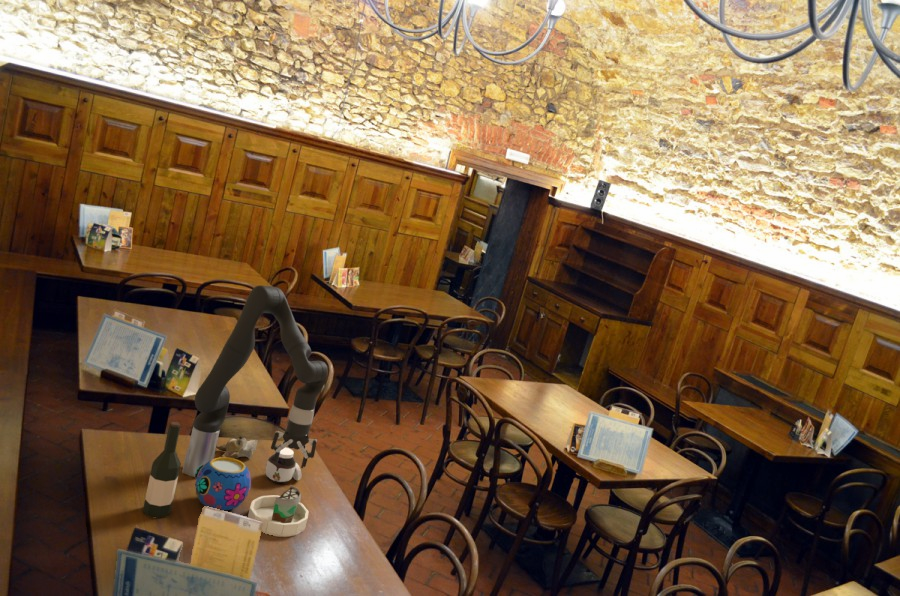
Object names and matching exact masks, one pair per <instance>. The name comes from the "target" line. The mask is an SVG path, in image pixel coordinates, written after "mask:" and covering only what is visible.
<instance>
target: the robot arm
mask: <svg viewBox="0 0 900 596" xmlns="http://www.w3.org/2000/svg"><path fill="white" fill-rule="evenodd" d="M262 314H271V315H273V316H274V318H275V319H276V321H277V322H278V324H279V328H280V339H281V343H282V345H283V347H284V349H285V351H286V353H287V354H288V356H289V358H290V359H291V364H292V367H293V371H294V375H295V376H296V378H297V380H298V381H299V382H301V383H302V384H304V385H303V386H301V387H299V388H298V389H297V390H296V392H295V396H294V399H293V403H292V406H291V409H290V412H289V416H288V421H287V424H286V428H285V432H281V431H280V430H278V429H277V430H276V431H275V433H274V436H273V439H272V442H271V446H270V449H271V450H273V451H274V453H275V456H274V461H275V463H277V462H278V459H279V454H280V451H281V450H282V449H284V448H285V447H286V448H289V449H294V450H296V451H297V450H300V452H301V453H302V455H303V458H302V460H301V461H302V462H301V466H300V469H304V468H305V467H306V466H307V461H308V459H309V458H311V459H313V458H315V455H316V454H315V453H316V448H317V443H318V439H317V437H315V438H310V437H309V435H310V430H311V427H312V423H313V420H314V415H315V408H316V404H317V400H318V397H319V395H320V393H321V392H322V389H323V388H324V386H325V384H326V381H327V379H328V375H329V369H328V368H329V367H328V365H327V364H326V362H324V361H322V360H309V357H310V356H311V355H312V349H311V347H310V345H309V343H308V342H307V340H306V339H305V338H306V337H304V335H303V333H302V332H301V329H299V327H298V324H297V322H296V320H295V317H294V315H293V312H292V310H291V308H290V306H289V303H288V300H287V298H286V295H285V294H284V292H283V290H282V289H281V288H280V287H277V286H272V285H271V286H270V285H261V284H260V285H255V287H253V288H252V289H251V291H250V292H249V295H248V296H247V299H246V301H245V303H244V306H243V307H242V311H241V313H240V315H239V317H238V319H237V322H236V323H235V326H234V328H233V330H232V332H231V333H230V335H229V336H228V338H227V340H226V342H225V344H224V346H223V347H222V350H221V352H220V354H219V356H218V357H217V359H216V361H215V362H214V363H213V364H214V365H213V366H212V369H211V370H210V371H209V373H208V375H207V376H206V378H205V380H204V381H203V383H202V384H201V385H200V386H199V388H198V389H197V391H196V393H195V396H194V404H195V408H196V409H197V410H198V412H200V413H199V414H198V415H197V416H196V417H195V418H194V422H193V425H192V429H191V435H190V438H189V439H190V440H189V443H188V446H187V449H186V452H185V458H184V461H183V466H182V471H181V473H182V474H185V475H187V476H189V477H192V478H195V472H196V470H197V468H198V467H199V466H201V465H205V464H206V463H207V462H209V461H211V460H212V459H215V454H216V449H217V448H216V446H218V445H217V444H218V440H219V434H220V431H221V426H222V425H223V424H224V422H225V419H226V415H227V412H228V409H229V404H230V400H231V399H230V397H231V395H230V394H231V393H230V390H229V388H228V386H226V385H227V384H228V383H229V381H230V380H232V378H233V377H235V375H236V374H238V372H240V370H241V369H242V368H244V366H245V365H246V364H247V362H248V360H249V359H250V356H251V354H252V352H253V351H254V349H255V344H256V340H255V339H256V336H255V328H256V326H257V323H258V321H259V319H260V318H261V316H262ZM281 437H282V438H283V441H282V442H281V443H280V444H278V445H277V441H278V440H279V439H281ZM308 443H309V445H310V446H311V449H310V450H311V451H308V449H307V445H308Z"/></svg>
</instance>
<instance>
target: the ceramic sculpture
mask: <svg viewBox="0 0 900 596" xmlns="http://www.w3.org/2000/svg"><path fill="white" fill-rule="evenodd" d="M258 443H259V442H258V439H251V440H247V439H246V438H245V437H244V436H239V437H238V438H237V437H236V438H230V439H229V440H228V441H227V442H226V443H224V444H221V445H216V449H217V450H219V451H222V452H224V453H223V454H222V455H219V457H228V458H233V459H238V458H241V457H246V458H248V459H251V458H252V456H253V454H254V453H255V451H256V449H257V445H258Z"/></svg>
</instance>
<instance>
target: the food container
mask: <svg viewBox="0 0 900 596" xmlns="http://www.w3.org/2000/svg"><path fill="white" fill-rule="evenodd" d="M279 496H280V497H279V498H277V497H276V499H275V502H274V504H275V506H274V511H273V516H272V521H274V522H279V523H291V522H292V519H293V516H294V513H295V510H296V507H297V504H298V503H299V502H300V503H301V499H302V494H301V491H300V489H299V488H298V487H295V486H293V485H291V484H290V486H289V488H288V489H287V490H285V491H283V493H281V495H279Z"/></svg>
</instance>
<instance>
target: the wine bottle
mask: <svg viewBox="0 0 900 596" xmlns="http://www.w3.org/2000/svg"><path fill="white" fill-rule="evenodd" d="M180 432H181V425H180V422H178V421H171V422H170V424H169V425H168V429H167V433H166V437H165V438H166V439H165V443H164V447H163V451H161V453H159V455H158V456H157V457H156V458H155V459H154V460H153V461H152V465H151V470H150V474H149V479H148V483H147V484H148V485H147V488H146V494H145V498H144V503H143V504H144V505H143V507H142V513H144V514H145V516H147V517H148V516H149V518H153V517H156V518H155V519H161V518H160V517H163V518H167V517H168V516H169V515H170V514H171V513H172V511H171V510H172V508H173V502H174V497H175V493H176V488H177V484H178V479H179V475H180V471H181V465H182V463H181V461H180V459H179V456H178V453H177V451H176V449H177V445H178V441H179V435H180ZM166 516H167V517H166Z"/></svg>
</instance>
